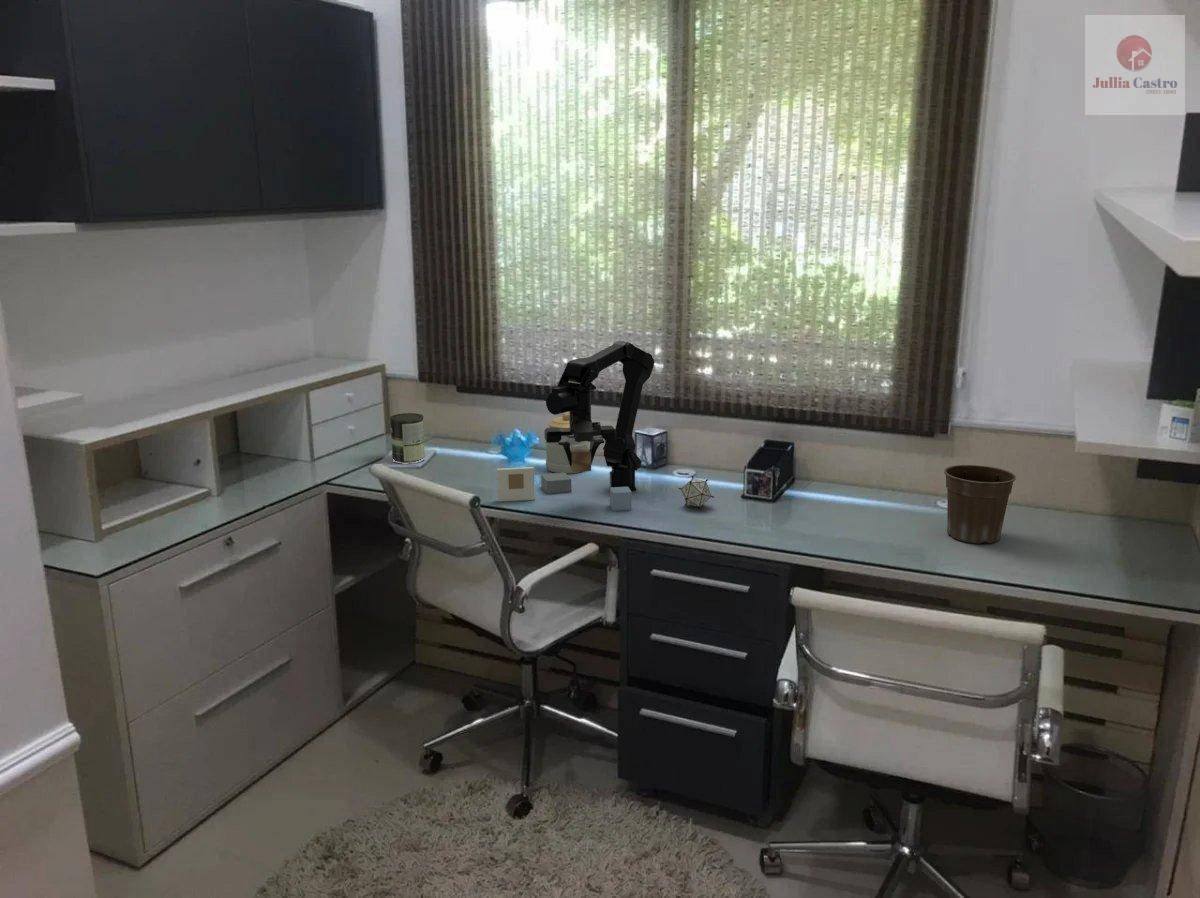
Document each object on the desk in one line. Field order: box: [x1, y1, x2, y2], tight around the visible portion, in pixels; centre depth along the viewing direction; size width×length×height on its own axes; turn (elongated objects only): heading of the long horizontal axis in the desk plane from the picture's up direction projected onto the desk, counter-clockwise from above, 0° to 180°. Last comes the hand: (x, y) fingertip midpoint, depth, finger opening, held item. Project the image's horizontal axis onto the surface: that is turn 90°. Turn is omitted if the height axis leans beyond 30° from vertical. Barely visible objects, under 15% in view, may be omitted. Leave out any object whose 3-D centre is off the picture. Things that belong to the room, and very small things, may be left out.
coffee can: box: [389, 412, 426, 463], centre depth 303 cm, size 10×10×14 cm
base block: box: [540, 472, 572, 495], centre depth 274 cm, size 7×7×4 cm
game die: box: [678, 475, 715, 511], centre depth 258 cm, size 9×8×10 cm
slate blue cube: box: [609, 486, 633, 512], centre depth 258 cm, size 5×5×5 cm
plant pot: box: [943, 464, 1017, 544], centre depth 235 cm, size 16×16×16 cm
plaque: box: [496, 466, 536, 502], centre depth 264 cm, size 10×2×9 cm, turn 100°
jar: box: [545, 412, 589, 475], centre depth 293 cm, size 13×13×18 cm
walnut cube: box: [570, 447, 592, 473], centre depth 259 cm, size 5×5×5 cm
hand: (580, 465), depth 259 cm, fingers closed on walnut cube, 5 cm apart
